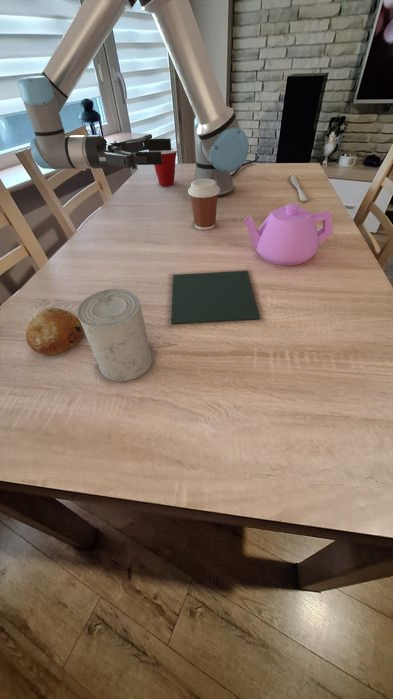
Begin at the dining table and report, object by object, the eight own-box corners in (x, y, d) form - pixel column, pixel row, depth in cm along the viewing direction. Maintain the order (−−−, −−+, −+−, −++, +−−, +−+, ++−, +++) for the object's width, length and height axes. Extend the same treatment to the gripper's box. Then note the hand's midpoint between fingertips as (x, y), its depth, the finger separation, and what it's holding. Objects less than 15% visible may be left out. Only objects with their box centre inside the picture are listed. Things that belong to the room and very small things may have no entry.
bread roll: (56, 335, 66) (25, 310, 60) (92, 315, 63) (63, 288, 58) (43, 369, 59) (7, 345, 54) (84, 349, 56) (50, 321, 51)
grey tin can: (160, 347, 57) (150, 293, 48) (137, 386, 50) (121, 332, 42) (116, 337, 59) (98, 284, 50) (88, 374, 53) (63, 320, 44)
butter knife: (299, 200, 101) (308, 199, 101) (288, 175, 120) (296, 175, 120) (298, 201, 102) (308, 201, 101) (288, 177, 121) (296, 176, 120)
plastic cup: (182, 179, 124) (179, 144, 116) (178, 188, 117) (175, 152, 108) (156, 179, 125) (151, 145, 117) (150, 188, 118) (145, 153, 109)
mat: (173, 275, 74) (173, 274, 73) (247, 271, 73) (247, 270, 73) (171, 324, 61) (171, 323, 61) (260, 319, 61) (260, 318, 61)
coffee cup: (185, 222, 95) (182, 180, 86) (212, 216, 97) (212, 175, 88) (196, 234, 89) (194, 190, 80) (224, 227, 91) (225, 184, 82)
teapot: (317, 237, 84) (329, 190, 75) (336, 266, 73) (352, 216, 65) (238, 241, 84) (241, 195, 76) (245, 271, 74) (249, 221, 65)
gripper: (107, 155, 93) (175, 154, 91) (76, 182, 76) (158, 182, 74) (101, 126, 88) (172, 123, 86) (66, 148, 71) (154, 145, 69)
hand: (166, 150), depth 80 cm, fingers open, 13 cm apart
